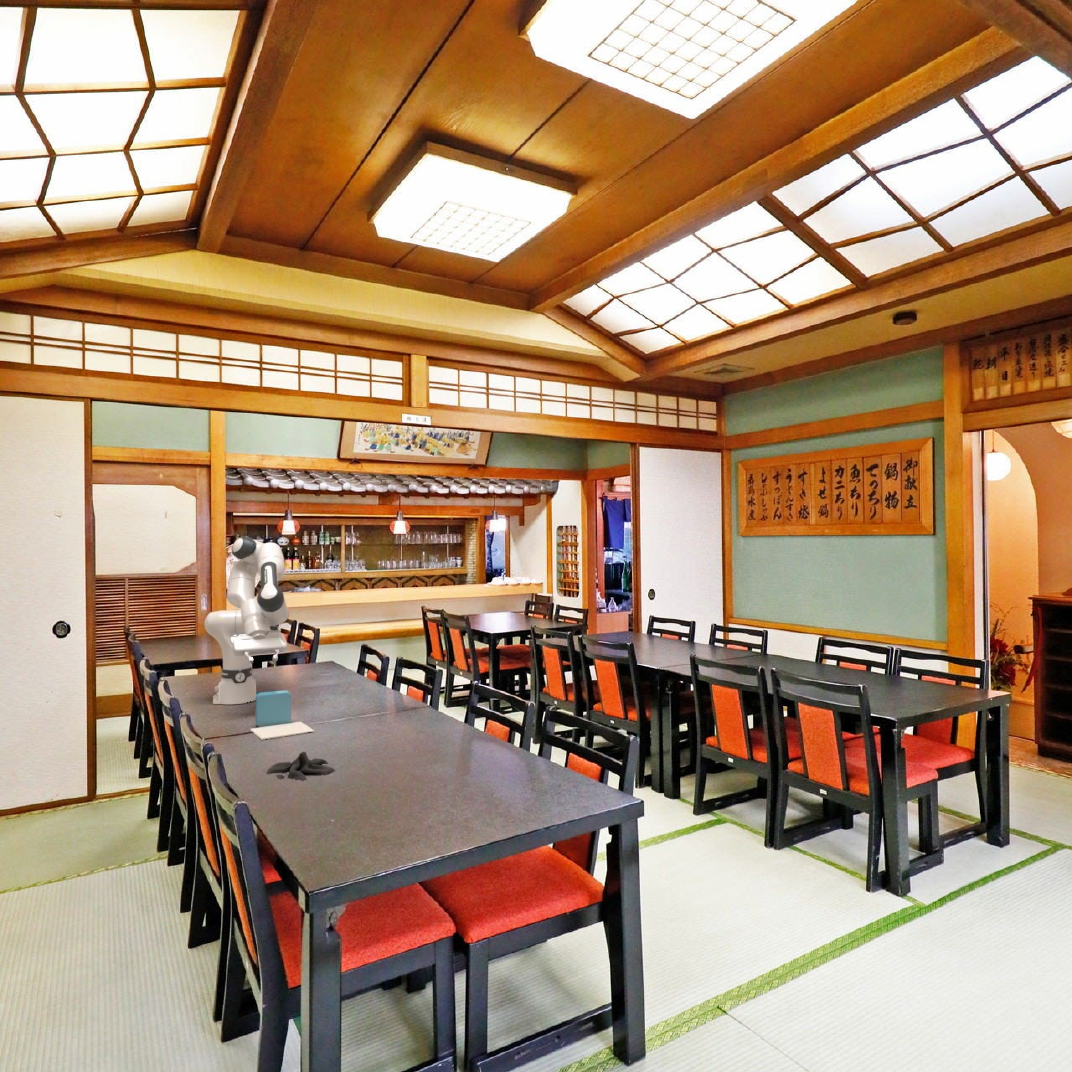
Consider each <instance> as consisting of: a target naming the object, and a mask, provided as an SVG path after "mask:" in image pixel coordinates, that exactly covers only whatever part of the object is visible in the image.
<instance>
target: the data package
mask: <svg viewBox="0 0 1072 1072" xmlns="http://www.w3.org/2000/svg"><path fill="white" fill-rule="evenodd" d="M287 723H292V694H291V693H290V692H289V690H287V689H286V690H275V691H274V690H273V691H263V692H258V693H256V700H255V724H256V726H257V728H259V727H266V726H273V725H280V724H287Z"/></svg>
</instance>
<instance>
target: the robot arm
mask: <svg viewBox="0 0 1072 1072" xmlns="http://www.w3.org/2000/svg"><path fill="white" fill-rule="evenodd" d="M231 553H232V555H233V557H235V558H236V559H238V560H240V561H237V562H236V563H234V564H233V565H232V567H231V570H230V573H229V577H228V583H227V589H226V590H227V592H226V600H227V601H228V603H229V604H230V605H231V606H233V607H236V608H238V609H228V610H221V609H220V610H218V611H217V610H215V611H211V612H209V613H208V614H207V615H206V617H205V619H204V624H203V626H204V629H205V632H206V633H207V634H208V635H209V636H211V637H212V638H214V639H215V640H216V641H217V643H218V644H219V647H220V649H221V654H222V669H221V679H220V681H219V682H218V684H217V685H215V686H214V692H215V693H216V694H214V695H213V696H212V704H213V705H240V704H247V702H248V703H250V701H251V702H254V701H256V695H257V686H256V685H257V684H256V682H257V681H256V679H255V678H253V676H252V675H253V667H252V664H253V663H254V658H253V656H256V655H265V654H273V656H272V662H277V661H278V658H279V657H278V655H279V653H285V652H286V651H287V648H288V642H287V639H286V637H285V635H284V633H282V632H281V631H282V629H281V627H280V625H283V624H284V623H285V622H286V621H288V618H289V617H290V611H289V608H288V605H287V603H286V600H285V596H284V592H283V590H282V588H280V586H279V585H278V584H279V583H278V582H279V581H280V580H282V579H283V578H284V577H285V573H286V563H285V557H284V554H283V550H282V548H281V547H280V545H278V544H277V543H276V542H265V543H264V542H261V541H259V540H256V539H254V538H252V537H250V536H245V535H244V536H240V537H237V538H236V539H235V540H234V542H233V544H232V546H231ZM257 574H258V576H259V577H260V583H261V584H260V589H259V591H258V593H257V597H256V598H255V589H256V577H257Z"/></svg>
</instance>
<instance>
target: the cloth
mask: <svg viewBox="0 0 1072 1072" xmlns="http://www.w3.org/2000/svg"><path fill="white" fill-rule="evenodd" d="M322 764H329V763H328V760H325V759H323V758H312V759H310V758H309V757H308V755H307V752H306V751H302V752H300V753H299V754H298V756H297V758H296V759H294V760H293V761H292V762H290V761H283V762H276V763H275V764H273V765H271V766H270V767H269V768H268V769H267V771H266V773H265V774H266V775H271V774H277V775H276V776H277V777H276V778H277V779H278V780H281V779H283V780H284V779H285V775H284V776H283V774H287V776H288V777H287V776H286V777H287V779H289V780H293V779H295V780H294V781H297V780H301V781H300V782H304V780H305V781H307V780H308V778H307V777H306V775H316V774H319V775H318V776H321V775H324V776H326V774H327V775H329V774H331V772H332V773H334V772H336V771H335V770H336V769H334V768H333V767H331V766H328V765H322ZM333 771H334V772H333ZM287 772H289V773H287ZM306 779H307V780H306Z"/></svg>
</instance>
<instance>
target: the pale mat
mask: <svg viewBox="0 0 1072 1072" xmlns="http://www.w3.org/2000/svg"><path fill="white" fill-rule="evenodd" d="M249 730H250V732H251V733H252V732H253V733H252V734H254V735H255V736H256V737H257V738H258V737H259V738H260V739H261V740H260V739H259V738H258V739H259V740H260V741H266V740H265V739H268V740H271V739H270V738H275V737H281V738H286V737H285V736H288V737H290V736H289V735H294V734H295V735H294V736H297V735H296V734H300V733H307V732H314V733H315V730H314V728H311V727H310V726H309V725H307V724H306V723H303V722H302V721H295V722H290V723H287V724H280V725H273V726H266V727H253V728H250V729H249ZM307 734H308V733H307ZM275 739H276V738H275Z"/></svg>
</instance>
